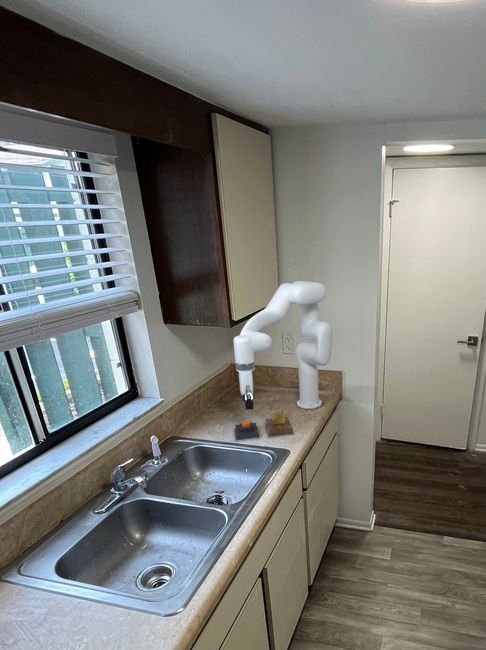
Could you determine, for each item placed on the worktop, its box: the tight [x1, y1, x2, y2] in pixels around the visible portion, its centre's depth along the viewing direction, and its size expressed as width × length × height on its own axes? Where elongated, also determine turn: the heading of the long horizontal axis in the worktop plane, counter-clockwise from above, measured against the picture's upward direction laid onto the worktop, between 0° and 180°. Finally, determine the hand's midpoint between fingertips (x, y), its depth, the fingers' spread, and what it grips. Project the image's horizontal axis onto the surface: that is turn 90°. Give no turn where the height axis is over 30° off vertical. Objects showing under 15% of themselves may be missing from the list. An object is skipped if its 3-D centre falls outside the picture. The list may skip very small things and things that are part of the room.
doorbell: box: [234, 421, 259, 441], centre depth 188 cm, size 11×9×4 cm
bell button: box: [241, 420, 251, 427], centre depth 187 cm, size 4×4×2 cm
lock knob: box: [270, 410, 286, 425], centre depth 190 cm, size 6×2×5 cm, turn 105°
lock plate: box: [265, 416, 293, 438], centre depth 192 cm, size 12×10×3 cm
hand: (248, 404), depth 184 cm, fingers open, 9 cm apart
